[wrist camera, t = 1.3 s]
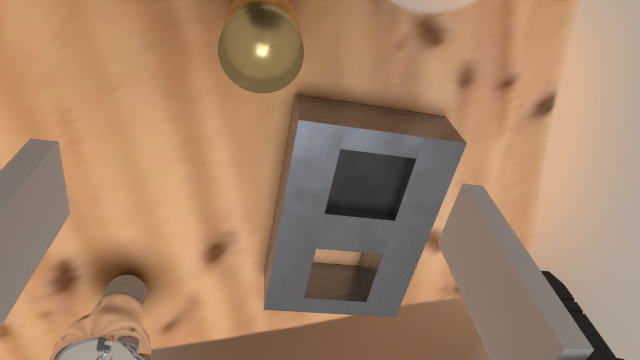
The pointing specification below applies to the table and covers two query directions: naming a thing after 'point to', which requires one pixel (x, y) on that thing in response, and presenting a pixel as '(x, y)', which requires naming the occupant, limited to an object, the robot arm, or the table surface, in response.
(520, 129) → the table surface
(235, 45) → the brass cylinder
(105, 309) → the light bulb
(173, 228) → the table surface
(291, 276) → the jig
